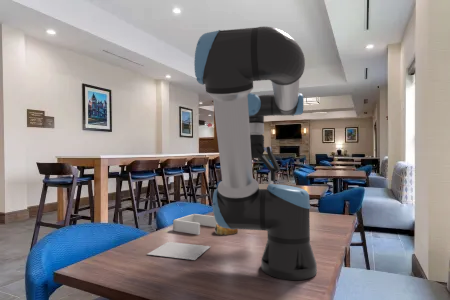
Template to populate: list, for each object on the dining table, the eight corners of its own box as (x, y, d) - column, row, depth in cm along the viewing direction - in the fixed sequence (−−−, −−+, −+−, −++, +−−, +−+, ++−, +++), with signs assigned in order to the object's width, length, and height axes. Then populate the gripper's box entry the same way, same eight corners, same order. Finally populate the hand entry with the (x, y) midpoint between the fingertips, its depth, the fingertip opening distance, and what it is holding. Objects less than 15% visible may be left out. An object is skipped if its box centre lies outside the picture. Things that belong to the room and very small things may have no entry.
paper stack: (179, 236, 116) (179, 234, 116) (241, 242, 108) (241, 240, 108) (146, 256, 93) (146, 254, 93) (220, 265, 86) (220, 263, 86)
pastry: (235, 230, 124) (235, 221, 124) (239, 235, 118) (239, 225, 118) (213, 231, 123) (213, 222, 123) (216, 236, 116) (216, 226, 116)
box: (198, 234, 117) (198, 223, 117) (173, 230, 124) (173, 220, 124) (217, 226, 130) (217, 216, 130) (193, 223, 137) (193, 213, 137)
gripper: (288, 134, 113) (288, 189, 112) (231, 136, 125) (231, 186, 125) (281, 132, 106) (281, 191, 106) (222, 135, 119) (222, 187, 118)
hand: (254, 188), depth 115 cm, fingers open, 13 cm apart
